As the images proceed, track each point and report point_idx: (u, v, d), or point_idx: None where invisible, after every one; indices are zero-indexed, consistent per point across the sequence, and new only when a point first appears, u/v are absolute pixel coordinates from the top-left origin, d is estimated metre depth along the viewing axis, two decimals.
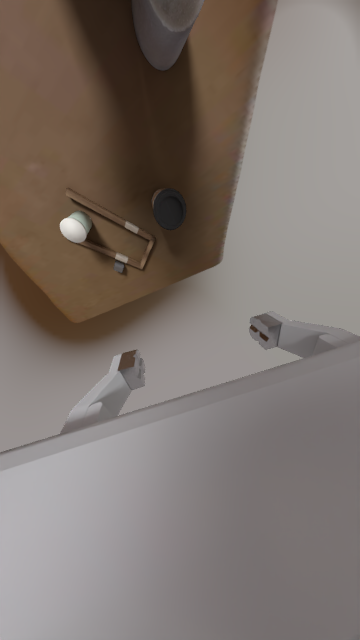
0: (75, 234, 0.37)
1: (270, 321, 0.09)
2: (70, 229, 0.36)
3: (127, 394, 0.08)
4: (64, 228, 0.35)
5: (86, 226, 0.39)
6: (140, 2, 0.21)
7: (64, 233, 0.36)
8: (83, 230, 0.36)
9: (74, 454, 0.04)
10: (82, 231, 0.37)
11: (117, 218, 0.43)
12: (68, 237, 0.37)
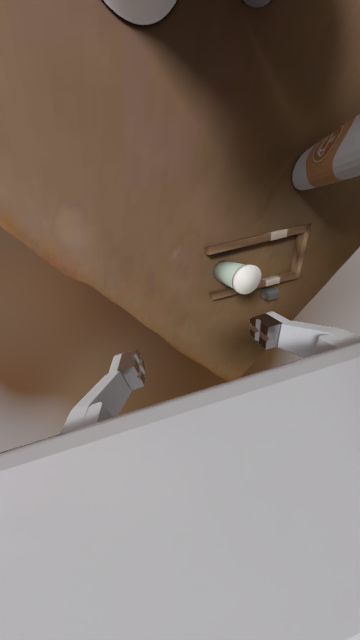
0: (250, 282, 0.27)
1: (270, 321, 0.09)
2: (244, 280, 0.27)
3: (127, 394, 0.08)
4: (239, 284, 0.27)
5: None
6: None
7: (239, 290, 0.28)
8: (258, 271, 0.26)
9: (74, 454, 0.04)
10: (257, 272, 0.27)
11: (261, 236, 0.32)
12: (243, 291, 0.28)
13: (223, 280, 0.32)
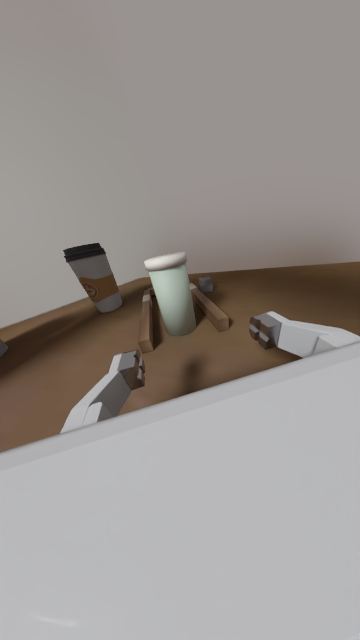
0: (168, 255, 0.19)
1: (270, 321, 0.09)
2: (164, 257, 0.18)
3: (127, 394, 0.08)
4: (168, 257, 0.17)
5: None
6: None
7: (178, 254, 0.17)
8: (154, 257, 0.20)
9: (74, 454, 0.04)
10: (156, 257, 0.20)
11: (143, 305, 0.30)
12: (181, 253, 0.18)
13: (181, 299, 0.19)
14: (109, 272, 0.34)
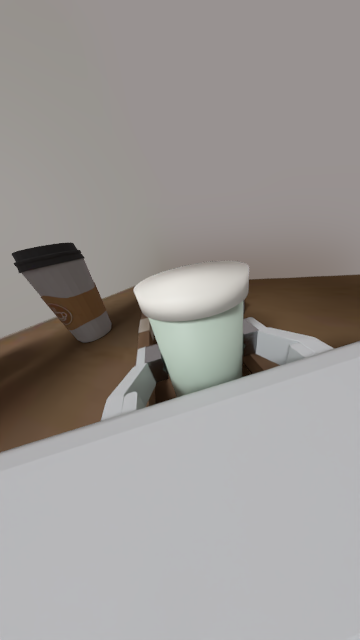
0: (196, 270, 0.07)
1: (248, 328, 0.09)
2: (188, 277, 0.06)
3: (153, 386, 0.08)
4: (205, 281, 0.05)
5: None
6: None
7: (234, 273, 0.06)
8: (160, 273, 0.09)
9: (74, 454, 0.04)
10: (165, 272, 0.09)
11: (140, 342, 0.18)
12: (236, 267, 0.06)
13: (227, 380, 0.08)
14: (89, 286, 0.23)
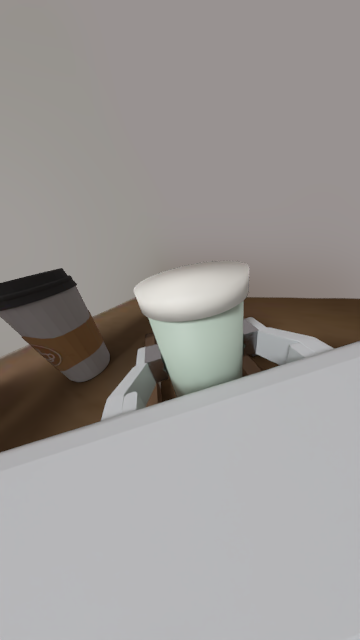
0: (196, 270, 0.07)
1: (247, 328, 0.09)
2: (188, 277, 0.06)
3: (153, 386, 0.08)
4: (205, 281, 0.05)
5: None
6: None
7: (234, 273, 0.06)
8: (160, 273, 0.09)
9: (74, 454, 0.04)
10: (165, 273, 0.09)
11: None
12: (236, 267, 0.06)
13: (227, 380, 0.07)
14: (83, 319, 0.19)
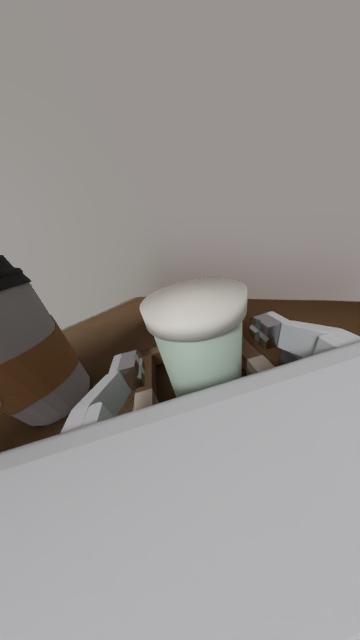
0: (197, 288, 0.08)
1: (270, 321, 0.09)
2: (191, 297, 0.07)
3: (127, 394, 0.08)
4: (207, 304, 0.06)
5: None
6: None
7: (233, 296, 0.06)
8: (163, 289, 0.09)
9: (74, 454, 0.04)
10: (168, 288, 0.09)
11: None
12: (235, 288, 0.07)
13: None
14: (39, 336, 0.12)
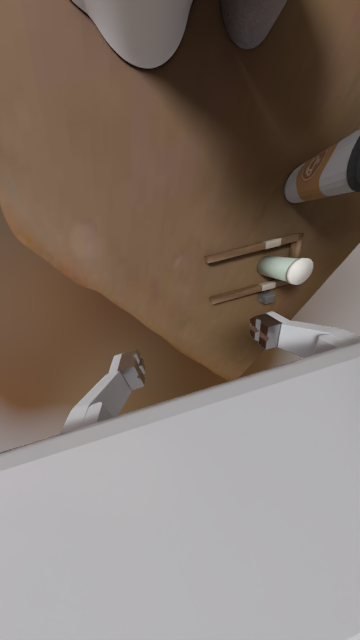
0: (302, 274, 0.31)
1: (270, 321, 0.09)
2: (298, 272, 0.30)
3: (127, 394, 0.08)
4: (293, 275, 0.30)
5: None
6: None
7: (292, 280, 0.31)
8: (311, 263, 0.30)
9: (74, 454, 0.04)
10: (310, 265, 0.30)
11: (256, 246, 0.35)
12: (295, 282, 0.31)
13: (272, 273, 0.35)
14: (330, 195, 0.26)
